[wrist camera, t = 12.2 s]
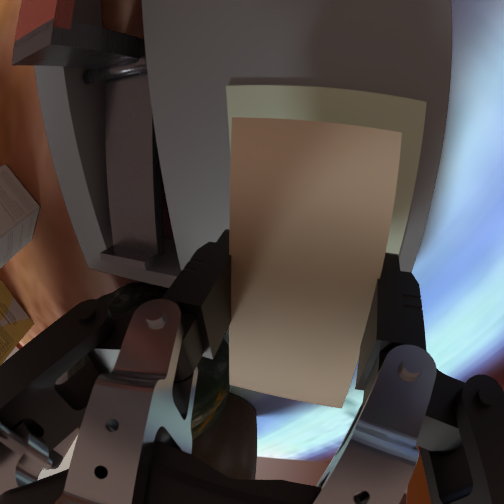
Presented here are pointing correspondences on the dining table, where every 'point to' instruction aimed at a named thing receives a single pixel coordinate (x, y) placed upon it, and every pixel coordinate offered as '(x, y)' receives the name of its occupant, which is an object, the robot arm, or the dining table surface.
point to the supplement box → (15, 215)
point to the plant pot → (230, 441)
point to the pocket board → (255, 106)
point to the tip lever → (108, 118)
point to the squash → (209, 370)
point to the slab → (305, 251)
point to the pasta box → (11, 322)
